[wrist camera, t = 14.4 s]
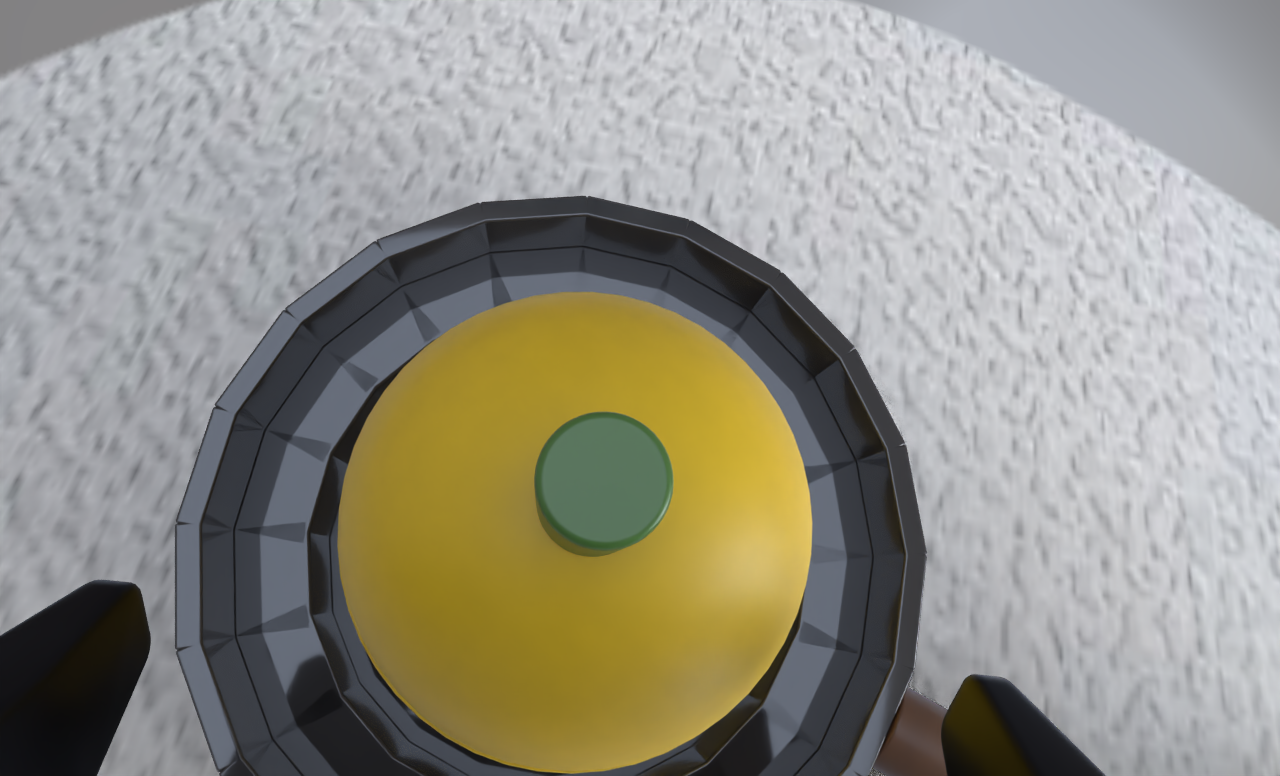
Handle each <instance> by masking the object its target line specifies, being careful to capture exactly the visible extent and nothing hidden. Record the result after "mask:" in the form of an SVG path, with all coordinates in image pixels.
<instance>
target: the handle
mask: <svg viewBox="0 0 1280 776" xmlns="http://www.w3.org/2000/svg"><path fill="white" fill-rule="evenodd" d="M947 711H948V710H947V709H945V708H943V707H942V706H940V705H938V704H937V703H935V702H933V701H931V700H930V699H928V698H926V697H924V696H923V695H921V694H919V693H917V692H916V691H914V690H912V689H910V688H909V687H907V690H906V692H905V694H904V696H903V699H902V701H901V703H900V706H899V708H898V710H897V713H896V715H895V717H894V720H893V722H892V724H891V727H890V729H889V731H888V734H887V736H886V738H885V741H884V743H883V745H882V747H881V750H880V752H879V754H878V757H877V759H876V761H875V764H874V766H873V768H874V769H876V770H877V771H879V772H881V773H883V774H884V775H886V776H947V772H946V766H945V760H944V754H943V748H942V742H941V726H942V722H943V719H944V716H945V714H946V713H947Z"/></svg>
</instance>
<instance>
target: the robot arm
mask: <svg viewBox="0 0 1280 776" xmlns="http://www.w3.org/2000/svg"><path fill="white" fill-rule="evenodd" d="M150 645H151V637H150V631H149V626H148V621H147V617H146V612H145V607H144V602H143V598H142V594H141V591H140V589H139V588H138V586H136V585H135V584H133V583H129V582H119V581H110V580H94V581H91V582H89V583H87V584H85V585H83V586H81V587H80V588H78V589H76V590H75V591H73V592H71V593H70V594H68V595H66V596H65V597H63V598H62V599H60V600H58V601H57V602H55V603H53V604H52V605H50V606H48V607H47V608H45V609H43V610H42V611H40V612H38V613H37V614H35V615H34V616H32V617H30V618H29V619H27V620H25V621H24V622H22V623H20V624H19V625H17V626H15V627H14V628H12V629H10V630H9V631H7V632H5V633H4V634H2V635H1V636H0V776H97V774H98V772H99V769H100V767H101V765H102V762H103V760H104V758H105V756H106V753H107V751H108V749H109V746H110V744H111V742H112V739H113V737H114V735H115V732H116V730H117V728H118V726H119V723H120V721H121V719H122V716H123V714H124V712H125V709H126V707H127V705H128V702H129V700H130V698H131V696H132V693H133V691H134V689H135V686H136V684H137V682H138V679H139V677H140V675H141V672H142V670H143V668H144V666H145V663H146V661H147V658H148V655H149V651H150ZM941 742H942V748H943V754H944V760H945V766H946V772H947V776H1106V775H1105V774H1104V773H1103V772H1102V771H1101V770H1100V769H1099V768H1097V767H1096V766H1095V765H1094V764H1093V763H1092V762H1091V761H1090V760H1089V759H1088V758H1087V757H1086V756H1085V755H1084V754H1083V753H1082V752H1081V751H1080V750H1079V749H1078V748H1077V747H1076V746H1075V745H1074V744H1073V743H1072V742H1071V741H1070V740H1069V739H1068V738H1067V737H1066V736H1065V735H1064V734H1063V733H1062V732H1061V731H1060V730H1059V729H1058V728H1057V727H1056V726H1055V725H1054V724H1053V723H1052V722H1051V721H1050V720H1049V719H1048V718H1047V717H1046V716H1045V715H1044V714H1043V713H1042V712H1041V711H1040V710H1039V709H1038V708H1037V707H1036V706H1035V705H1034V704H1033V703H1032V702H1031V701H1030V700H1029V699H1028V698H1027V697H1026V696H1025V695H1024V694H1023V693H1022V692H1021V691H1020V690H1018V689H1017V688H1016V687H1015V686H1014V685H1013V684H1012V683H1011V682H1010V681H1008V680H1007V679H1005V678H1002V677H996V676H987V675H978V674H973V675H970V676H968V677H967V678H965V680H964V681H963V683H962V685H961V687H960V688H959V690H958V692H957V694H956V696H955V698H954V700H953V701H952V703H951V705H950V707H949V709H948V711H947V713H946V714H945V716H944V719H943V722H942V726H941Z"/></svg>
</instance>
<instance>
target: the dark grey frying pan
mask: <svg viewBox="0 0 1280 776" xmlns="http://www.w3.org/2000/svg"><path fill="white" fill-rule="evenodd" d="M560 292H597V293H605V294H614V295H621V296H625V297H629V298H633V299H637V300H641V301H645V302H649V303H652V304H654V305H657V306H660V307H662V308H665V309H667V310H670V311H673V312H675V313H677V314H679V315H681V316H683V317H685V318H686V319H688V320H690V321H692V322H694V323H696V324H698V325H700V326H701V327H703V328H704V329H706V330H707V331H708V332H710V333H711V334H713V335H714V336H715V337H717V338H718V339H720V340H721V341H723V342H724V343H725V344H726V345H727V346H728V347H729V348H731V349H732V350H733V351H734V352H735V353H736V354H737V355H738V356H739V357H740V358H742V359H743V360H744V361H745V362H746V363H747V364H748V366H749V367H750V368H751V369H752V370H753V371H754V373H755V374H756V375H757V376H758V377H759V378H760V380H761V381H762V382H763V383H764V384H765V386H766V387H767V389H768V390H769V392H770V393H771V395H772V396H773V398H774V399H775V401H776V402H777V404H778V405H779V407H780V409H781V411H782V413H783V415H784V417H785V419H786V421H787V423H788V425H789V427H790V429H791V431H792V433H793V435H794V438H795V441H796V443H797V446H798V449H799V452H800V455H801V458H802V460H803V464H804V469H805V473H806V478H807V483H808V487H809V492H810V502H811V513H812V547H811V558H810V564H809V570H808V576H807V582H806V587H805V590H804V593H803V597H802V600H801V603H800V607H799V610H798V613H797V616H796V618H795V620H794V622H793V625H792V627H791V629H790V631H789V634H788V636H787V638H786V640H785V643H784V644H783V646H782V647H781V649H780V651H779V652H778V654H777V656H776V657H775V659H774V660H773V662H772V664H771V665H770V667H769V669H768V670H767V671H766V673H765V674H764V675H763V676H762V677H761V679H760V680H759V681H758V682H757V684H756V685H755V686H754V687H753V689H752V690H751V691H750V692H749V694H748V695H747V696H746V697H744V698H743V699H742V700H741V701H740V702H739V703H738V704H737V705H736V706H735V707H734V708H733V709H732V710H731V711H730V712H729V713H728V714H727V715H725V716H724V717H723V718H722V719H720V720H719V721H717V722H716V723H715V724H713V725H712V726H710V727H709V728H708V729H706V730H705V731H704V732H702V733H701V734H699V735H698V736H696V737H695V738H693V739H691V740H689V741H687V742H685V743H684V744H682V745H680V746H678V747H676V748H674V749H672V750H670V751H668V752H667V753H664V754H662V755H659V756H656V757H654V758H651V759H648V760H645V761H643V762H640V763H637V764H634V765H629V766H625V767H620V768H616V769H611V770H606V771H599V772H585V773H571V774H569V773H554V772H540V771H534V770H529V769H524V768H520V767H515V766H510V765H506V764H503V763H500V762H497V761H495V760H492V759H489V758H486V757H484V756H481V755H478V754H476V753H473V752H472V751H470V750H468V749H466V748H464V747H462V746H460V745H459V744H457V743H455V742H453V741H451V740H449V739H447V738H446V737H444V736H443V735H442V734H440V733H439V732H437V731H436V730H435V729H433V728H432V727H431V726H429V725H428V724H427V723H425V722H424V721H423V720H421V719H420V718H419V717H418V716H417V715H416V714H415V713H414V712H413V711H412V710H411V709H410V708H409V707H408V706H407V705H406V704H405V703H404V702H403V701H402V700H401V699H400V698H399V697H398V696H396V694H395V693H394V692H393V691H392V689H391V688H390V687H389V685H388V684H387V683H386V681H385V680H384V679H383V677H382V676H381V675H380V673H379V672H378V671H377V669H376V668H375V666H374V664H373V663H372V661H371V659H370V657H369V655H368V654H367V652H366V650H365V648H364V647H363V645H362V643H361V641H360V639H359V637H358V634H357V631H356V629H355V626H354V624H353V621H352V618H351V616H350V613H349V611H348V607H347V603H346V599H345V595H344V591H343V586H342V582H341V578H340V568H339V557H338V547H337V543H338V516H339V506H340V500H341V494H342V488H343V482H344V477H345V474H346V470H347V467H348V464H349V461H350V458H351V454H352V451H353V448H354V445H355V443H356V441H357V439H358V437H359V434H360V432H361V430H362V428H363V426H364V424H365V421H366V419H367V417H368V416H369V414H370V413H371V411H372V409H373V408H374V406H375V405H376V403H377V401H378V400H379V398H380V397H381V395H382V394H383V392H384V391H385V389H386V388H387V387H388V386H389V385H390V383H391V382H392V381H393V380H394V379H395V377H396V376H397V375H398V374H399V372H400V371H401V370H402V369H403V368H404V367H405V366H406V365H407V364H408V363H409V362H410V361H411V360H412V359H413V358H414V357H415V356H416V355H417V354H419V353H420V352H421V351H422V350H423V349H424V348H425V347H426V346H427V345H429V344H430V343H432V342H433V341H434V340H436V339H437V338H438V337H440V336H441V335H443V334H444V333H445V332H447V331H448V330H450V329H451V328H453V327H455V326H457V325H458V324H460V323H462V322H464V321H466V320H468V319H469V318H471V317H473V316H475V315H477V314H479V313H482V312H484V311H487V310H489V309H492V308H494V307H497V306H499V305H502V304H504V303H508V302H512V301H516V300H520V299H524V298H528V297H532V296H536V295H544V294H552V293H560ZM854 348H855V347H854V346H853V345H852V344H851V343H850V341H849V340H848V339H847V338H846V337H845V336H844V335H843V334H842V333H841V332H840V331H839V330H838V329H837V328H836V327H835V326H834V325H833V324H832V323H831V322H830V321H829V320H828V319H827V318H826V317H825V316H824V315H823V314H822V312H821V311H820V310H819V309H818V308H817V307H816V306H815V305H814V304H813V303H812V302H811V301H810V300H809V299H808V298H807V297H806V296H805V295H804V294H803V293H802V292H801V291H800V290H799V289H798V288H797V287H796V286H795V285H794V283H793V282H792V281H791V280H790V279H789V278H788V277H787V276H786V275H785V274H784V273H781V271H780V270H778V269H777V268H775V267H773V266H771V265H770V264H768V263H766V262H764V261H763V260H761V259H759V258H757V257H755V256H754V255H752V254H750V253H748V252H747V251H745V250H743V249H741V248H740V247H738V246H736V245H734V244H733V243H731V242H729V241H727V240H725V239H724V238H722V237H720V236H718V235H717V234H715V233H713V232H711V231H710V230H708V229H706V228H704V227H703V226H701V225H699V224H697V223H695V222H694V221H689V219H686V218H681V217H677V216H673V215H668V214H664V213H660V212H655V211H651V210H647V209H643V208H638V207H634V206H630V205H625V204H621V203H617V202H612V201H608V200H604V199H599V198H595V197H591V196H588V197H586V196H574V197H558V198H541V199H525V200H508V201H492V202H481V204H480V203H476V204H473V205H470V206H468V207H465V208H462V209H460V210H457V211H454V212H451V213H449V214H446V215H443V216H440V217H438V218H435V219H432V220H429V221H427V222H424V223H421V224H418V225H416V226H413V227H410V228H408V229H405V230H402V231H399V232H397V233H394V234H391V235H388V236H386V237H383V238H380V239H378V240H377V242H376V241H374V242H373V243H371V244H370V245H369V246H367V247H366V248H365V249H363V250H362V251H361V252H359V253H358V254H357V255H355V256H354V257H353V258H351V259H350V260H349V261H347V262H346V263H345V264H343V265H342V266H341V267H339V268H338V269H337V270H335V271H334V272H333V273H331V274H330V275H329V276H327V277H326V278H325V279H323V280H322V281H321V282H319V283H318V284H317V285H315V286H314V287H313V288H311V289H310V290H309V291H307V292H306V293H305V294H303V295H302V296H301V297H299V298H298V299H297V300H295V301H294V302H293V303H291V304H290V305H289V306H287V307H286V308H285V310H283V311H282V312H281V314H280V315H279V317H278V318H277V319H276V321H275V322H274V323H273V325H272V326H271V328H270V329H269V330H268V332H267V333H266V334H265V336H264V337H263V339H262V340H261V341H260V343H259V344H258V345H257V347H256V348H255V350H254V351H253V352H252V354H251V355H250V357H249V358H248V359H247V361H246V362H245V363H244V365H243V366H242V368H241V369H240V370H239V372H238V373H237V374H236V376H235V377H234V379H233V380H232V381H231V383H230V384H229V385H228V387H227V388H226V390H225V391H224V392H223V394H222V395H221V396H220V398H219V399H218V401H217V402H216V403H215V406H216V407H214V408H213V410H212V413H211V416H210V419H209V422H208V425H207V428H206V431H205V434H204V437H203V440H202V443H201V446H200V449H199V452H198V455H197V458H196V461H195V464H194V468H193V471H192V474H191V477H190V480H189V483H188V486H187V489H186V492H185V495H184V498H183V501H182V504H181V507H180V510H179V513H178V516H177V519H176V523H177V524H176V525H175V648H176V650H177V651H176V654H177V657H178V660H179V663H180V666H181V669H182V672H183V675H184V677H185V680H186V683H187V686H188V689H189V692H190V695H191V698H192V700H193V703H194V706H195V709H196V712H197V715H198V718H199V720H200V723H201V726H202V729H203V732H204V735H205V738H206V741H207V743H208V746H209V749H210V752H211V755H212V758H213V761H214V764H215V766H216V769H217V771H218V772H220V773H219V774H220V776H869V775H870V773H871V771H872V768H873V766H874V764H875V761H876V759H877V757H878V754H879V752H880V750H881V747H882V745H883V743H884V741H885V738H886V736H887V734H888V731H889V729H890V727H891V724H892V722H893V720H894V717H895V715H896V713H897V710H898V708H899V706H900V703H901V701H902V699H903V696H904V694H905V692H906V690H907V687H908V685H909V683H910V680H911V678H912V676H913V673H914V671H913V670H914V669H915V663H916V653H917V644H918V634H919V625H920V616H921V606H922V597H923V587H924V578H925V568H926V559H927V557H926V554H927V551H926V546H925V541H924V536H923V530H922V525H921V520H920V515H919V510H918V504H917V499H916V494H915V489H914V483H913V478H912V473H911V468H910V463H909V457H908V452H907V447H906V445H904V444H905V442H904V440H903V438H902V436H901V434H900V432H899V430H898V428H897V426H896V425H895V423H894V421H893V419H892V417H891V415H890V413H889V411H888V409H887V407H886V405H885V403H884V401H883V400H882V398H881V396H880V394H879V392H878V390H877V388H876V386H875V384H874V382H873V380H872V378H871V376H870V375H869V373H868V371H867V369H866V367H865V365H864V363H863V361H862V359H861V357H860V355H859V353H858V351H857V350H856V349H854Z"/></svg>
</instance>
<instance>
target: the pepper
mask: <svg viewBox="0 0 1280 776" xmlns="http://www.w3.org/2000/svg"><path fill="white" fill-rule="evenodd" d="M337 547H338V557H339V568H340V578H341V582H342V586H343V591H344V595H345V599H346V603H347V607H348V611H349V613H350V616H351V618H352V621H353V624H354V626H355V629H356V631H357V634H358V637H359V639H360V641H361V643H362V645H363V647H364V648H365V650H366V652H367V654H368V655H369V657H370V659H371V661H372V663H373V664H374V666H375V668H376V669H377V671H378V672H379V673H380V675H381V676H382V677H383V679H384V680H385V681H386V683H387V684H388V685H389V687H390V688H391V689H392V691H393V692H394V693H395V694H396V696H398V697H399V698H400V699H401V700H402V701H403V702H404V703H405V704H406V705H407V706H408V707H409V708H410V709H411V710H412V711H413V712H414V713H415V714H416V715H417V716H418V717H419V718H420V719H421V720H423V721H424V722H425V723H427V724H428V725H429V726H431V727H432V728H433V729H435V730H436V731H437V732H439V733H440V734H442V735H443V736H444V737H446V738H447V739H449V740H451V741H453V742H455V743H457V744H459V745H460V746H462V747H464V748H466V749H468V750H470V751H472V752H473V753H476V754H478V755H481V756H484V757H486V758H489V759H492V760H495V761H497V762H500V763H503V764H506V765H510V766H515V767H520V768H524V769H529V770H534V771H540V772H554V773H569V774H571V773H585V772H599V771H606V770H611V769H616V768H620V767H625V766H629V765H634V764H637V763H640V762H643V761H645V760H648V759H651V758H654V757H656V756H659V755H662V754H664V753H667V752H668V751H670V750H672V749H674V748H676V747H678V746H680V745H682V744H684V743H685V742H687V741H689V740H691V739H693V738H695V737H696V736H698V735H699V734H701V733H702V732H704V731H705V730H706V729H708V728H709V727H710V726H712V725H713V724H715V723H716V722H717V721H719V720H720V719H722V718H723V717H724V716H725V715H727V714H728V713H729V712H730V711H731V710H732V709H733V708H734V707H735V706H736V705H737V704H738V703H739V702H740V701H741V700H742V699H743V698H744V697H746V696H747V695H748V694H749V692H750V691H751V690H752V689H753V687H754V686H755V685H756V684H757V682H758V681H759V680H760V679H761V677H762V676H763V675H764V674H765V673H766V671H767V670H768V669H769V667H770V665H771V664H772V662H773V660H774V659H775V657H776V656H777V654H778V652H779V651H780V649H781V647H782V646H783V644H784V643H785V640H786V638H787V636H788V634H789V631H790V629H791V627H792V625H793V622H794V620H795V618H796V616H797V613H798V610H799V607H800V603H801V600H802V597H803V593H804V590H805V587H806V582H807V576H808V570H809V564H810V558H811V547H812V513H811V502H810V492H809V487H808V483H807V478H806V473H805V469H804V464H803V460H802V458H801V455H800V452H799V449H798V446H797V443H796V441H795V438H794V435H793V433H792V431H791V429H790V427H789V425H788V423H787V421H786V419H785V417H784V415H783V413H782V411H781V409H780V407H779V405H778V404H777V402H776V401H775V399H774V398H773V396H772V395H771V393H770V392H769V390H768V389H767V387H766V386H765V384H764V383H763V382H762V381H761V380H760V378H759V377H758V376H757V375H756V374H755V373H754V371H753V370H752V369H751V368H750V367H749V366H748V364H747V363H746V362H745V361H744V360H743V359H742V358H740V357H739V356H738V355H737V354H736V353H735V352H734V351H733V350H732V349H731V348H729V347H728V346H727V345H726V344H725V343H724V342H723V341H721V340H720V339H718V338H717V337H715V336H714V335H713V334H711V333H710V332H708V331H707V330H706V329H704V328H703V327H701V326H700V325H698V324H696V323H694V322H692V321H690V320H688V319H686V318H685V317H683V316H681V315H679V314H677V313H675V312H673V311H670V310H667V309H665V308H662V307H660V306H657V305H654V304H652V303H649V302H645V301H641V300H637V299H633V298H629V297H625V296H621V295H614V294H605V293H597V292H560V293H552V294H544V295H536V296H532V297H528V298H524V299H520V300H516V301H512V302H508V303H504V304H502V305H499V306H497V307H494V308H492V309H489V310H487V311H484V312H482V313H479V314H477V315H475V316H473V317H471V318H469V319H468V320H466V321H464V322H462V323H460V324H458V325H457V326H455V327H453V328H451V329H450V330H448V331H447V332H445V333H444V334H443V335H441V336H440V337H438V338H437V339H436V340H434V341H433V342H432V343H430V344H429V345H427V346H426V347H425V348H424V349H423V350H422V351H421V352H420V353H419V354H417V355H416V356H415V357H414V358H413V359H412V360H411V361H410V362H409V363H408V364H407V365H406V366H405V367H404V368H403V369H402V370H401V371H400V372H399V374H398V375H397V376H396V377H395V379H394V380H393V381H392V382H391V383H390V385H389V386H388V387H387V388H386V389H385V391H384V392H383V394H382V395H381V397H380V398H379V400H378V401H377V403H376V405H375V406H374V408H373V409H372V411H371V413H370V414H369V416H368V417H367V419H366V421H365V424H364V426H363V428H362V430H361V432H360V434H359V437H358V439H357V441H356V443H355V445H354V448H353V451H352V454H351V458H350V461H349V464H348V467H347V470H346V474H345V477H344V482H343V488H342V494H341V500H340V506H339V516H338V543H337Z"/></svg>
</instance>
